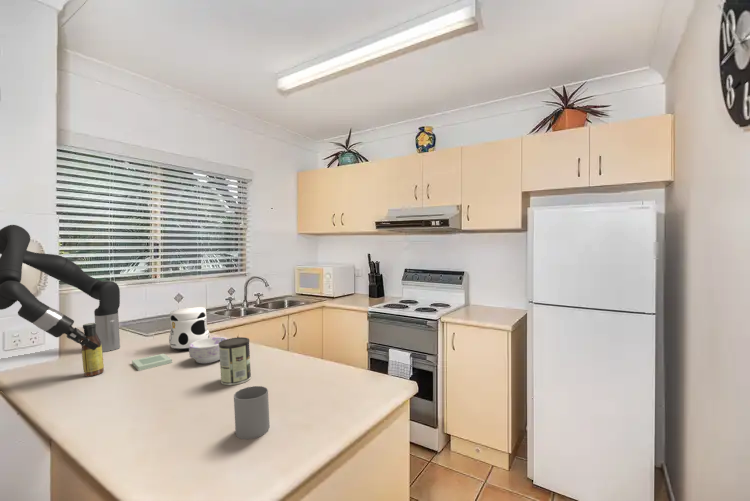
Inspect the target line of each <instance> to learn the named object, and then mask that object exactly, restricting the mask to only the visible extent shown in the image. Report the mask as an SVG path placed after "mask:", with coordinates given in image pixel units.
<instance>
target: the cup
mask: <svg viewBox="0 0 750 501" xmlns="http://www.w3.org/2000/svg"><path fill="white" fill-rule="evenodd" d="M269 403H270V402H269V389H268V388H267V387H265V386H262V385H255V386H254V385H253V386H247V387H244V388H241V389H240V390H237V391H236V392H235V393H234V394H233V404H234V405H233V406H234V408H233V409H234V411H233V412H234V429H235V435H236V437H237V438H239V439H241V440H252V439H257V438H259V437H261V436H264V435H266V433H268V432H269V430H270V426H271V425H270V406H269Z"/></svg>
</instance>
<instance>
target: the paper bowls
mask: <svg viewBox="0 0 750 501" xmlns="http://www.w3.org/2000/svg"><path fill="white" fill-rule="evenodd" d="M226 339H228V338H227V337H222V336H220V337H219V336H216V337H209V338H206V339H201V340H198V341H195V342H193V343H191V344H190V345H189V349H188V352H189V354H188V355H189V358H191V359H194V360H195V362H196V363H198V364H210V363H215V362H218V361H220V351H219V342H221V341H223V340H226Z"/></svg>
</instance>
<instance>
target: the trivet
mask: <svg viewBox="0 0 750 501" xmlns="http://www.w3.org/2000/svg"><path fill="white" fill-rule="evenodd" d="M172 363H173V359H172V358H171V357H170V356H168V355H166V354H165V353H160V354H156V355H150V356H145V357H141V358H137V359H133V360H131V364H132V365H133V367H134V368H135V369H136V370H137V371H139V372H140V371H143V370H147V369H152V368H155V367H160V366H164V365H170V364H172Z"/></svg>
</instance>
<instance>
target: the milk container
mask: <svg viewBox="0 0 750 501" xmlns="http://www.w3.org/2000/svg"><path fill="white" fill-rule="evenodd" d="M207 318H208V317H207V310H206V307H203V306H198V307H197V306H196V307H195V306H194V307H184V308H178V309H174V310H171V311H170V313H169V319H170V320H169V322H170V332H169V338H168V342H169V346H170V347H171V349H174V350H179V351H184V350H188V351H189V345H190V344H191V343H193V342H195V341H198V340H201V339H206V338H210V330H209V328H208V320H207Z"/></svg>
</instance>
